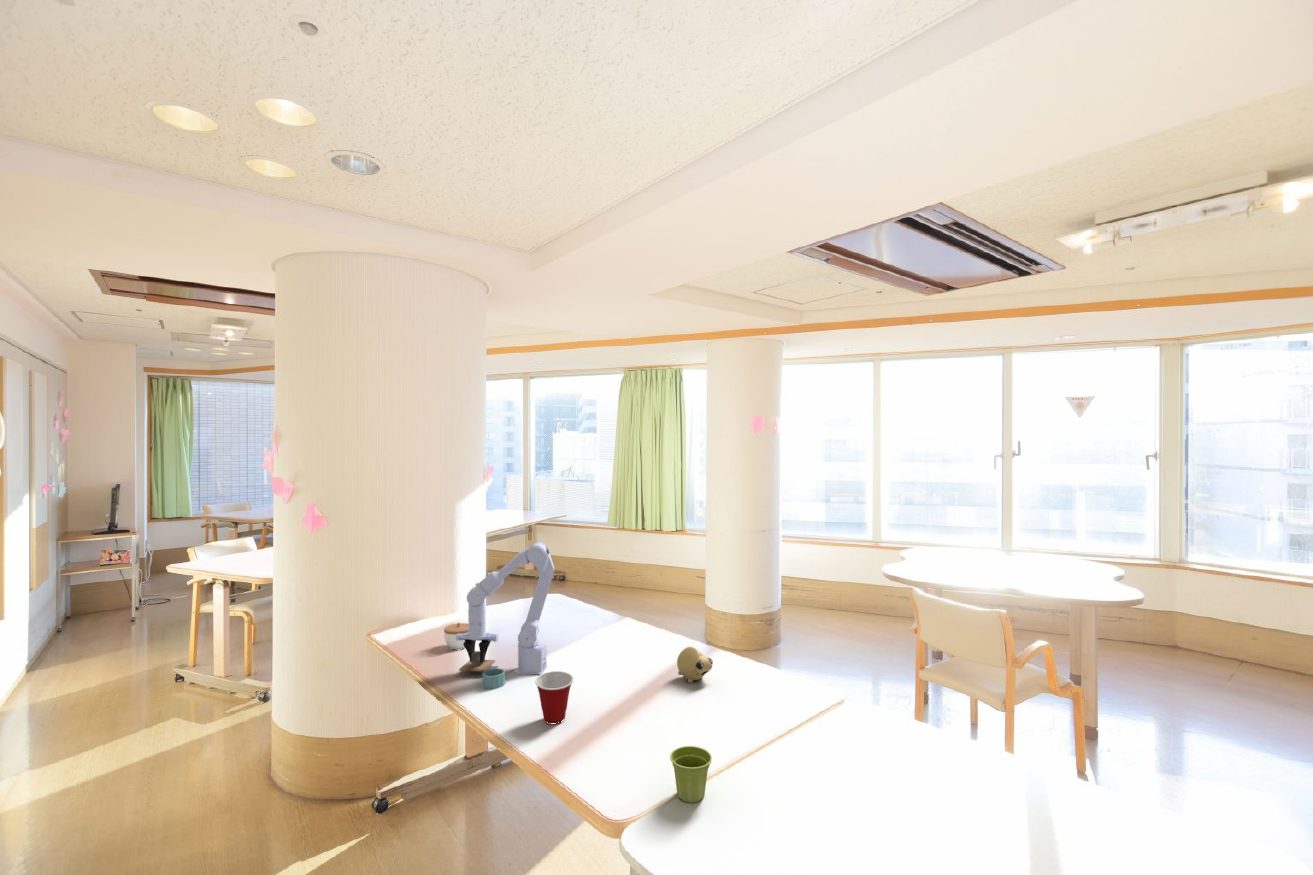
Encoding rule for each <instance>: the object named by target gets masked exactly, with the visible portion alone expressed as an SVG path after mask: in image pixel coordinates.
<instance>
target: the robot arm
mask: <svg viewBox="0 0 1313 875" xmlns="http://www.w3.org/2000/svg"><path fill="white" fill-rule="evenodd" d="M530 563H531V564H532V565H534V566H535V567H536V569H537V571H538V572H539V577H538V580H537V584H536V586H535V589H534V592H533V597H532V599H531V602H530V605H529V609H528V613H527V615H526V619H525V622H524V623H523V624H522V626H521V628H520V631H519V633H518V635H517V642H518V643H517V665H518V666H517V668H516V669H515V670H514V671H513V673H514V674H521V675H522V674H526V675H541V674H543V672H544V670H546V668H547V667H548V664H547V662H548V661H547V660H548V659H547V645H546V644H541V643H540V641H539V639H538V635H539V631H540V630H539V629H540V628H539V622H540V619H541V616H542V613H543V609H544V606H545V603H546V599H547V596H548V592H549V590H550V586H551V583H552V579H553V576H554V573H555V565H554V562H553V559H552V556H551V551H550V549H549V548H548V546H547V545H546V544H545V543H544V542H542V541H535V542H533V543H531V544H530V546H527V547H525V548H524V549H523V550H521V551H520V552H518V553H517V554H516V555H515V556H514V557H513V558H511V559H510V561H508V563H506V564H504V566H502V568H501V569H499V570H498V571H491V572H488V573H486V574H485V577H484V578H483V579H482V580H481V581H479V582H477V583H475V584H474V585H475V586H473V587H472V588H471V589H470V590H469V592H468V593H467V595H466V601H467V603H468V605H467V606H468V610H467V614H468V617H467V618H468V626H469V633H459V634H457V635H456V641H459V640H465V642H464V643H463V645H464V647H465V648H464V649H465V650H466V652H467V654H468V655H467V656H468V658H469V660H470V662H472V657H471V654H472V653H474V652H475V651H476V641H478V642H479V641H480V642H479V643H478V647H479V648H478V649H479V651H480V662H481V663H483V662H484V661H485V660H486V655H487V652H488V649H489V646H490V644H491V642H493V643H496V642H498V641H499V634H495V633H490V632H489V633H488V632H487V627H486V626H487V623H486V619H487V618H486V615H487V614H486V598H487V597H489V596H491V595H492V594H493V593H495V592H496V591H498V589H499V588H500V587H501V586H502V585H504V582H505V581H504V579H505V578H507V576H509V575H511V573H513V572H514V571H515V570H517V569H518V568H519V567H520V566H523V565H529V564H530Z"/></svg>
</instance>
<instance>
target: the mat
mask: <svg viewBox="0 0 1313 875" xmlns="http://www.w3.org/2000/svg"><path fill="white" fill-rule="evenodd" d="M494 668H499V665H491V666H490V667H489V668H488V669H487V670H489V669H494ZM482 673H483V671H459V673H458V674H457V675H456V676H455V678H462V679H463V678H465V679H482Z"/></svg>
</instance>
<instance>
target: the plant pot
mask: <svg viewBox="0 0 1313 875" xmlns="http://www.w3.org/2000/svg"><path fill="white" fill-rule="evenodd" d="M669 759H670V761H671V762H672V764H671V765H672V767H673V771H674V778H675V785H676V786H675V787H676V794H677V797H678V798H679V799H681V800H682V801H683V802H685V803H698V802H699V801H701V800H703V799H704V798H705V795H706V794H705V793H706V787H707V786H706V785H707V780H708V774H709V773H708V771H709V768H710V764H711V763H712V759H713V757H712V754H711V753H710V752H709V750H706V749H705V748H703V747H700V746H696V745H695V746H694V745H683V746H680V747H677V748H675V749H674V750H672V751H671V753H670V755H669Z"/></svg>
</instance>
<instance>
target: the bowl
mask: <svg viewBox="0 0 1313 875" xmlns="http://www.w3.org/2000/svg"><path fill="white" fill-rule="evenodd" d="M481 679H482V680H481V681H482V682H481V684H482V688H483V689H486V690H494V689H495V690H496V689H499V688H502V687H504V686H505V684H506V670H505V669H504V668H503V669H502V668H499V667H498V668H494V669H489V670H486V671H484V672H483V673H482V678H481Z"/></svg>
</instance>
